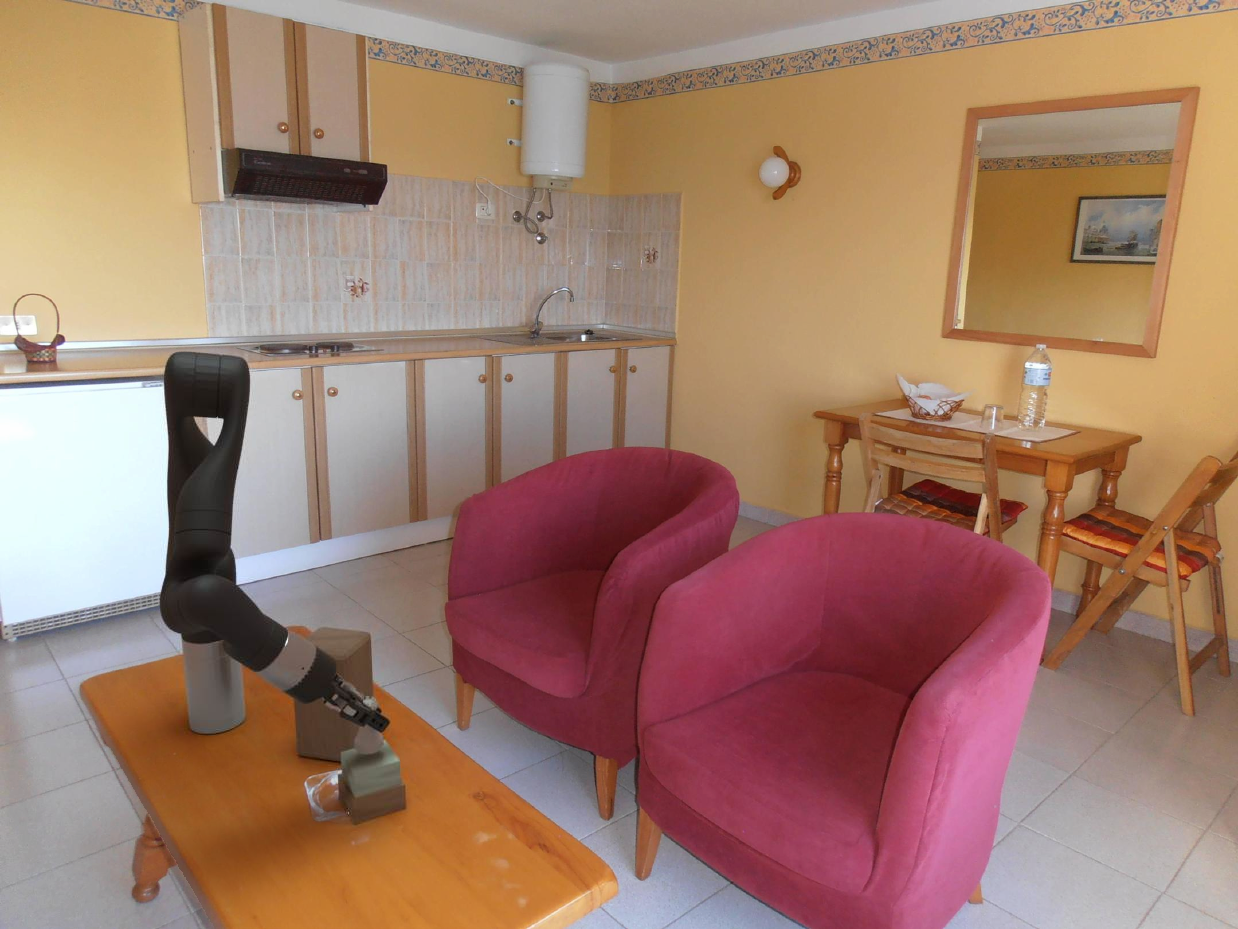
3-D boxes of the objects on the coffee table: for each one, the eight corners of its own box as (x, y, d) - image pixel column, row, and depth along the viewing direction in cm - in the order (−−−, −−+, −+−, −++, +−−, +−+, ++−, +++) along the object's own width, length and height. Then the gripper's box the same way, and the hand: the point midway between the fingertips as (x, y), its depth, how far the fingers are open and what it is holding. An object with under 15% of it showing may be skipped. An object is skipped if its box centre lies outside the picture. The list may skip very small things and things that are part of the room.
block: (349, 765, 144) (343, 655, 139) (294, 757, 146) (287, 648, 141) (377, 734, 153) (373, 630, 149) (326, 727, 155) (320, 624, 151)
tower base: (338, 797, 135) (336, 751, 133) (388, 781, 140) (387, 737, 138) (354, 825, 129) (352, 777, 127) (406, 807, 133) (404, 761, 131)
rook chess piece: (357, 740, 134) (355, 693, 132) (386, 739, 134) (385, 693, 132) (351, 756, 129) (349, 707, 128) (381, 755, 130) (379, 707, 128)
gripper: (326, 663, 118) (414, 721, 127) (300, 627, 129) (382, 682, 139) (288, 708, 116) (380, 763, 126) (265, 667, 128) (351, 721, 137)
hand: (381, 720), depth 132 cm, fingers closed on rook chess piece, 3 cm apart
